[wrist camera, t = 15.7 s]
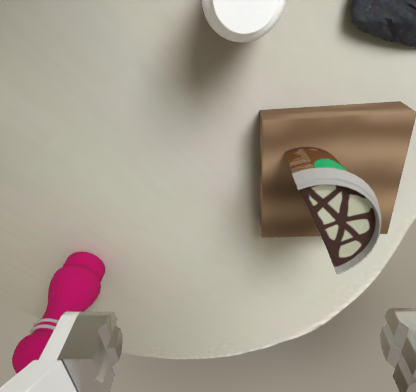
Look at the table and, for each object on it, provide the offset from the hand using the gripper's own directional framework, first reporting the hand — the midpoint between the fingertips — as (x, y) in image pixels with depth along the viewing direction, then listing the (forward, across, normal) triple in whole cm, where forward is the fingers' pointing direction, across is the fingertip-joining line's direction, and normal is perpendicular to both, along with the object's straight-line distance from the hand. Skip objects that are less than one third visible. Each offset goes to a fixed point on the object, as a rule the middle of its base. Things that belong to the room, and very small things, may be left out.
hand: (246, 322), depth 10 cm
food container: (+29, -10, +11) cm, 33 cm away
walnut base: (+33, -11, +12) cm, 37 cm away
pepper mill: (+33, +25, +28) cm, 50 cm away
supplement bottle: (+33, -1, -8) cm, 34 cm away
